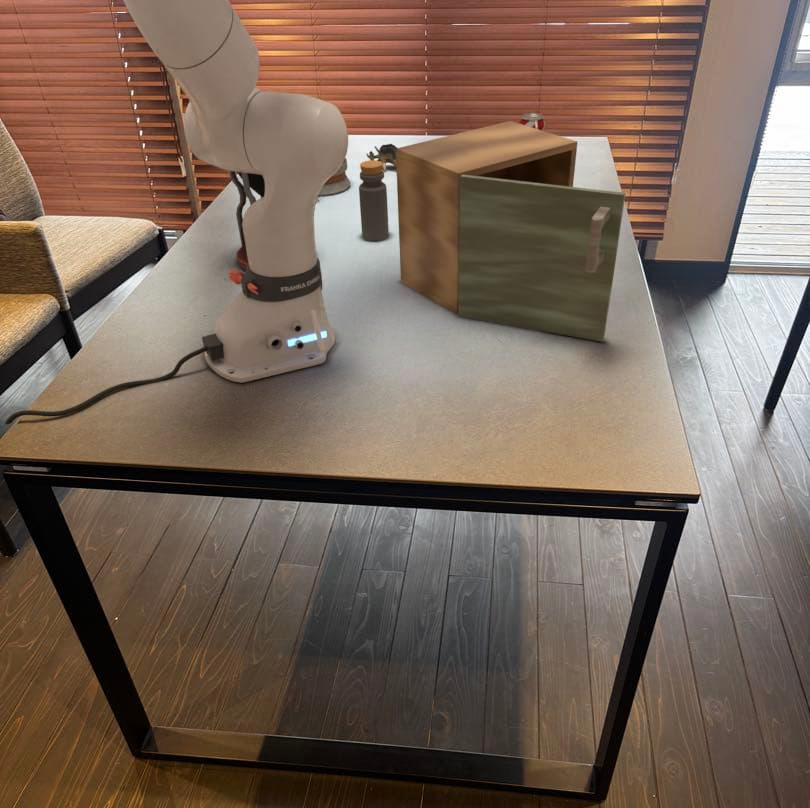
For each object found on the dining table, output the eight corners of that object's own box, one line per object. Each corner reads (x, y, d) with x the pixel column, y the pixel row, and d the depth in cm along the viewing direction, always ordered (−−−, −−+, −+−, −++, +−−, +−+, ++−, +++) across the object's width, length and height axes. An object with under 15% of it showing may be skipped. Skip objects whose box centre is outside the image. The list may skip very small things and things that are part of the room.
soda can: (511, 165, 207) (513, 115, 199) (533, 161, 209) (536, 111, 201) (524, 172, 202) (528, 121, 194) (547, 168, 204) (551, 117, 196)
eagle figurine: (367, 170, 204) (400, 164, 201) (364, 141, 203) (398, 134, 201) (376, 178, 211) (408, 172, 209) (373, 150, 210) (406, 144, 208)
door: (593, 357, 130) (614, 207, 114) (445, 330, 139) (446, 187, 123) (604, 339, 135) (625, 192, 119) (460, 314, 144) (462, 174, 128)
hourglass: (326, 248, 169) (314, 119, 152) (294, 278, 158) (276, 143, 141) (259, 240, 173) (240, 115, 157) (223, 269, 162) (198, 137, 146)
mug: (354, 178, 203) (350, 113, 193) (341, 204, 189) (335, 136, 179) (301, 177, 205) (294, 113, 195) (284, 203, 191) (275, 136, 180)
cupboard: (563, 276, 155) (577, 141, 138) (456, 314, 144) (458, 173, 128) (503, 248, 166) (510, 120, 150) (400, 282, 155) (395, 148, 139)
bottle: (385, 242, 171) (381, 168, 161) (359, 240, 172) (354, 167, 162) (391, 231, 175) (388, 159, 165) (365, 230, 176) (360, 158, 166)
